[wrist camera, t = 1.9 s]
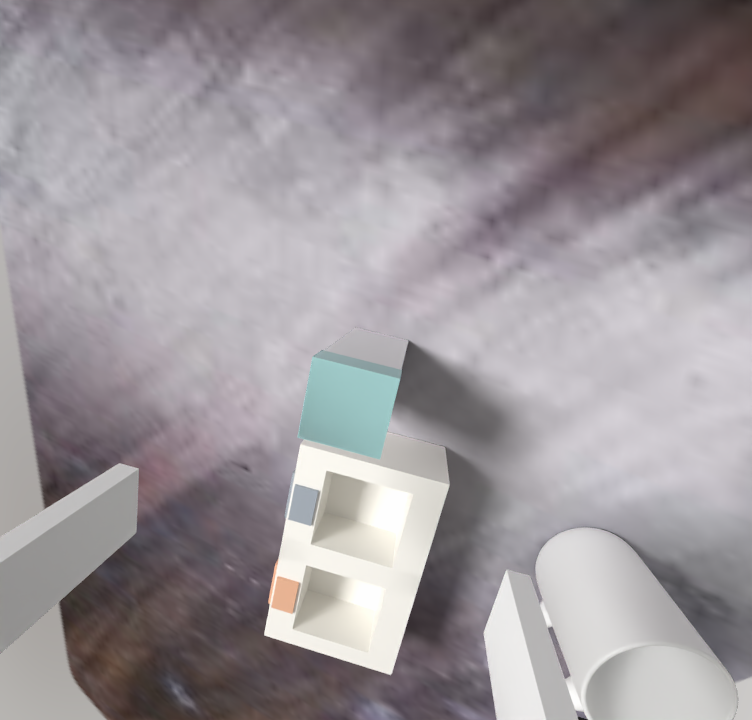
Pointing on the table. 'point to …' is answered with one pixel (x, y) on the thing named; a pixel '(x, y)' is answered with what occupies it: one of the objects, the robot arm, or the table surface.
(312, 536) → the socket box
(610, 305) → the table surface
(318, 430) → the plug
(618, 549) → the mug
